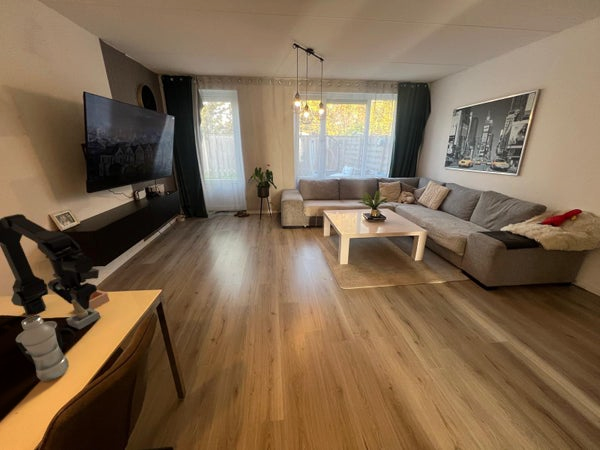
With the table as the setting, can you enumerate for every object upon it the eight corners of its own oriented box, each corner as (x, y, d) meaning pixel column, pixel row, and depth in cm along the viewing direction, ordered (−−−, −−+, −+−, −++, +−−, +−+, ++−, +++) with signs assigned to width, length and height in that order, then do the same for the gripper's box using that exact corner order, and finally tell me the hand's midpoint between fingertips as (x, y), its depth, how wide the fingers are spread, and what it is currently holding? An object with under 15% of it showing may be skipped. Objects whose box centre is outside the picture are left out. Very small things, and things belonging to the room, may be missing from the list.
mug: (24, 373, 72) (10, 347, 68) (32, 353, 79) (20, 329, 75) (77, 354, 78) (66, 329, 75) (80, 337, 85) (71, 313, 82)
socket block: (69, 326, 90) (66, 319, 89) (90, 315, 96) (87, 307, 95) (80, 331, 88) (77, 323, 86) (101, 319, 94) (98, 311, 93)
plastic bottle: (53, 366, 74) (29, 312, 68) (77, 364, 74) (54, 310, 68) (33, 386, 68) (4, 329, 61) (59, 383, 68) (32, 327, 62)
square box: (81, 308, 100) (77, 298, 98) (100, 299, 106) (97, 289, 105) (91, 312, 98) (88, 302, 96) (110, 302, 104) (107, 292, 102)
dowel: (78, 323, 91) (69, 301, 88) (87, 318, 94) (79, 296, 90) (83, 325, 90) (74, 303, 87) (92, 320, 93) (83, 298, 89)
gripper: (107, 263, 88) (118, 299, 93) (77, 255, 95) (89, 289, 100) (70, 278, 78) (84, 317, 83) (40, 268, 85) (55, 305, 90)
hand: (79, 306), depth 90 cm, fingers open, 9 cm apart
